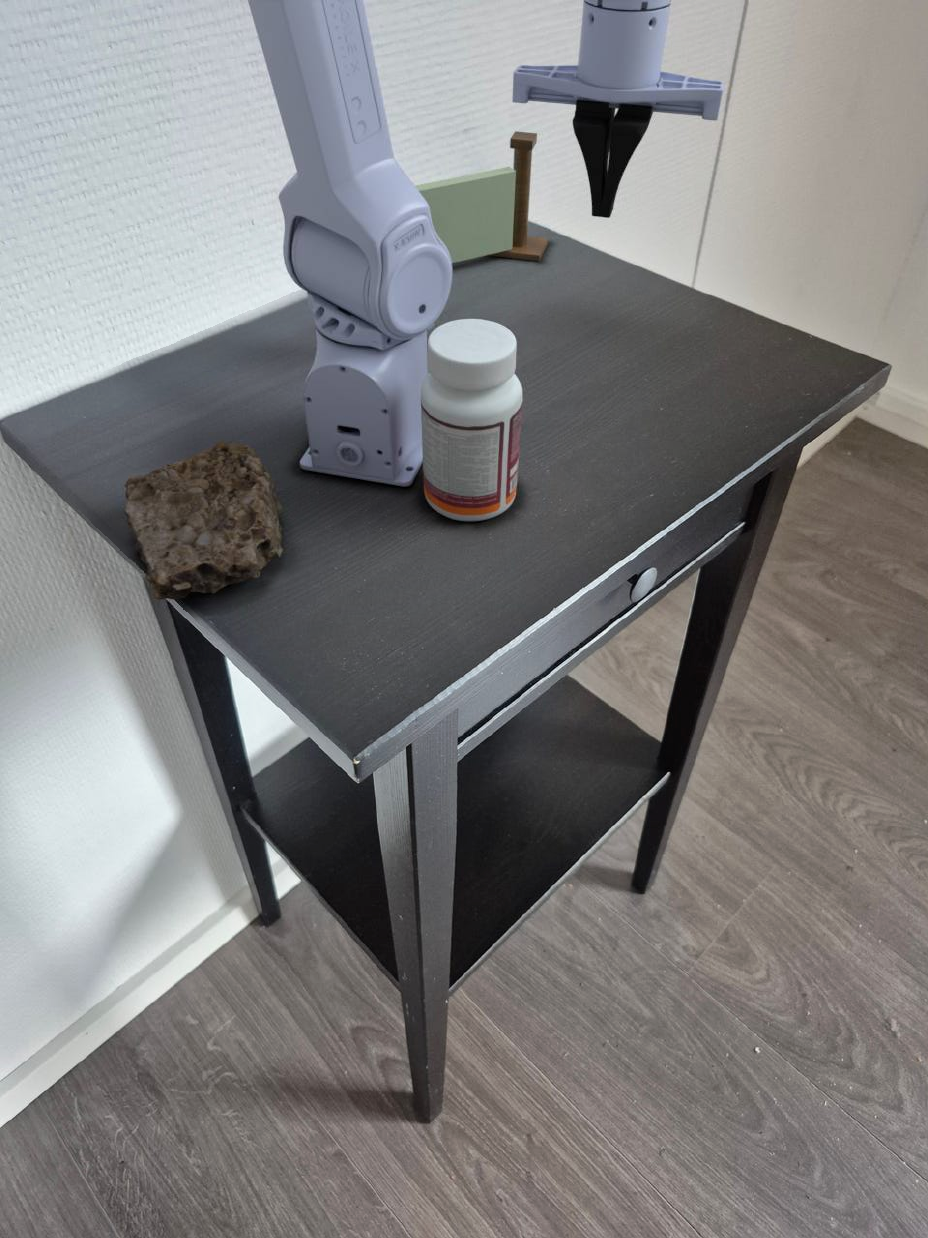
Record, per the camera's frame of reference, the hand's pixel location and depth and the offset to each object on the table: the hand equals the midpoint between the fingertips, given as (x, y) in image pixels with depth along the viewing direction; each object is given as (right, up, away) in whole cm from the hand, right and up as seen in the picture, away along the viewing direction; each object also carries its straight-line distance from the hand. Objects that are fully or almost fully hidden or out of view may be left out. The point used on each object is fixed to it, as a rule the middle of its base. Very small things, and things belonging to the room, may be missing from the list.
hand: (602, 211), depth 68 cm
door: (-12, +1, +13) cm, 18 cm away
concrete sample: (-26, -24, -16) cm, 39 cm away
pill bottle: (-10, -23, -9) cm, 27 cm away
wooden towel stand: (-5, +4, +17) cm, 18 cm away
